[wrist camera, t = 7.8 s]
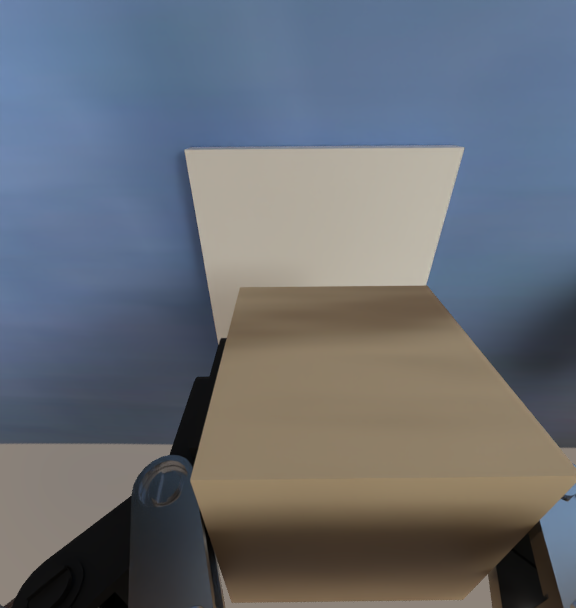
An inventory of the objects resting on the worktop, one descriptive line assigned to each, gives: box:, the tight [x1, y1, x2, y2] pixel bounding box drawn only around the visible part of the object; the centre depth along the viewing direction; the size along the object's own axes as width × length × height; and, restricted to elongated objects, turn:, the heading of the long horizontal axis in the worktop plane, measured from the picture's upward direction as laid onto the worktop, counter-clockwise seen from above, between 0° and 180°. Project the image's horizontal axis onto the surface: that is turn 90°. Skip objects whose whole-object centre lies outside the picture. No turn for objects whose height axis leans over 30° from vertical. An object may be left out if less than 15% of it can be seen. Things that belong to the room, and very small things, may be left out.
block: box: [190, 286, 576, 603], centre depth 9 cm, size 6×6×6 cm
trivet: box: [185, 145, 464, 345], centre depth 17 cm, size 12×12×1 cm
